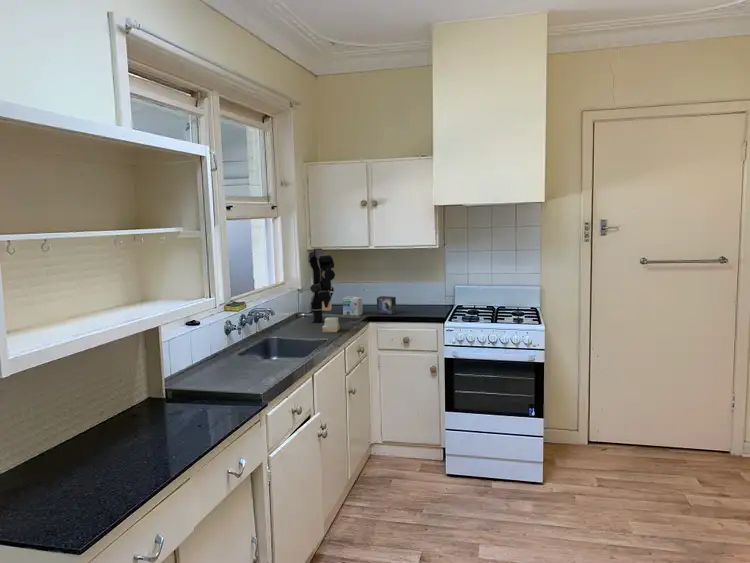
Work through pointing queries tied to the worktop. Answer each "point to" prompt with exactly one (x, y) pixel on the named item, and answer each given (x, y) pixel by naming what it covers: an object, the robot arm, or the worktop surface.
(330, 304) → the terracotta cube
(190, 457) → the worktop surface
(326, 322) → the tower top
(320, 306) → the robot arm
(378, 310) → the small box
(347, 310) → the light bulb box
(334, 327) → the tower base
